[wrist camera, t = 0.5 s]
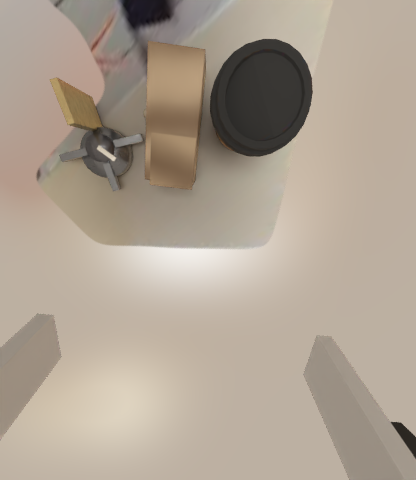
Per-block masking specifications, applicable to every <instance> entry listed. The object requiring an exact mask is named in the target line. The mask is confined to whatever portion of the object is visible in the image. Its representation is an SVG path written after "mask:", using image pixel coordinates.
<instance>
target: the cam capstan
mask: <svg viewBox="0 0 416 480" xmlns="http://www.w3.org/2000/svg"><path fill="white" fill-rule="evenodd" d="M50 82H51V84H52V87H53V89H54V92H55V94H56V97H57V99H58V102H59V104H60V107H61V109H62V112H63V114H64V116H65V119H66V121H67V124H68V125H70V126H74V127H78V128H82V129H85V130H89V131H88V132H87V133H86V134H85V135H84V137H83V138H82V141H81V146H80V149H79V150H76V151H72V152H68V153H64V154H60V155H59V156H60V158H61V161H62V162H67V161H71V160H75V159H78V158H82V159H83V161H84V163H85V164H86V166H87V167H88V168H89V169H90V170H91V171H92V172H93V173H95V174H97V175H99V176H102V177H108V179H109V182H110V185H111V187H112V190H113V191H116V190H120V189H121V187H120V184H119V181H118V179H117V176H120V175H122V174H124V173H125V172H126V171H127V170H128V169H129V168H130V166H131V163H132V157H133V156H132V149H131V146H130V145H132V144H136V143H140V142H143V141H144V139H143V136H142V134H136V135H132V136H129V137H124V136H123V135H122V134H120V133H119V132H117V131H114V130H111V129H108V128H105V127H102V124H101V121H100V118H99V116H98V113H97V110H96V107H95V104H94V101H93V99H92V97H91V96H89V95H87V94H85V93H84V92H82V91H80V90H78V89H76V88H75V87H73V86H71V85H69V84H68V83H66V82H64V81H62V80H60V79H59V78H54V79H50Z"/></svg>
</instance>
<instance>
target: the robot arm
mask: <svg viewBox="0 0 416 480" xmlns="http://www.w3.org/2000/svg"><path fill="white" fill-rule="evenodd" d="M60 358H61V353H60V347H59V342H58V336H57V331H56V326H55V321H54V316H53V315H46V314H37V315H36V316H35V317H34V318H32V319H31V320H30V321H29V322H28V323H27V324H26V325H25V326H24V327H23V328H22V329H20V330H19V331H18V332H17V333H16V334H15V335H14V336H13V337H12V338H11V339H9V340H8V341H7V342H6V343H5V344H4V345H3V346H2V347H1V348H0V440H1V438H2V437H3V435H4V434H5V433H6V432H7V430H8V429H9V427H10V426H11V425H12V423H13V422H14V421H15V419H16V418H17V417H18V415H19V414H20V413H21V411H22V410H23V408H24V407H25V406H26V404H27V403H28V402H29V400H30V399H31V397H32V396H33V395H34V394H35V392H36V391H37V390H38V388H39V387H40V385H41V384H42V383H43V381H44V380H45V379H46V377H47V376H48V375H49V373H50V372H51V371H52V369H53V368H54V366H55V365H56V364H57V362H58V361H59V360H60ZM304 377H305V379H306V381H307V384H308V386H309V388H310V391H311V393H312V395H313V398H314V400H315V402H316V404H317V407H318V409H319V411H320V414H321V416H322V418H323V420H324V423H325V425H326V427H327V429H328V432H329V434H330V436H331V439H332V441H333V443H334V446H335V448H336V450H337V452H338V455H339V457H340V459H341V462H342V464H343V466H344V468H345V471H346V473H347V475H348V478H349V480H416V437H415V436H414V435H413V434H412V433H411V432H410V431H409V430H408V429H407V428H406V427H405V426H404V425H403V424H402V423H398V422H390V421H389V419H388V418H387V416H386V415H385V414H384V412H383V411H382V409H381V408H380V406H379V405H378V403H377V402H376V400H375V399H374V398H373V396H372V395H371V393H370V392H369V390H368V389H367V387H366V386H365V384H364V383H363V382H362V380H361V379H360V377H359V376H358V374H357V373H356V371H355V370H354V369H353V367H352V366H351V364H350V363H349V361H348V360H347V358H346V357H345V355H344V354H343V352H342V351H341V350H340V348H339V347H338V345H337V344H336V342H335V341H334V339H333V338H332V337H330V336H316V339H315V342H314V345H313V348H312V351H311V354H310V357H309V360H308V363H307V365H306V368H305V371H304Z"/></svg>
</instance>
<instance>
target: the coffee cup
mask: <svg viewBox="0 0 416 480" xmlns="http://www.w3.org/2000/svg"><path fill="white" fill-rule="evenodd" d="M312 92H313V91H312V77H311V74H310V71H309V68H308V65H307V63H306V62H305V60H304V59H303V57H302V55H301V54H300V53H299V52H298V51H297V50H296V49H295V48H293V47H292V46H291V45H290V44H288V43H285V42H282V41H280V40H277V39H262V40H258V41H255V42H252V43H248V44H246V45H244V46H243V47H241V48H239V49H238V50H236V51H235V52H234V53H233V54H232V55H231V56H230V57H229V58H228V59H227V60H226V62H225V63H224V64H223V66H222V68H221V70H220V71H219V73H218V75H217V77H216V80H215V82H214V85H213V89H212V93H211V100H210V112H211V117H212V122H213V125H214V127H215V130H216V133H217V136H218V138H219V140H220V142H221V143H222V144H223V145H224V146H225V147H227V148H228V149H230V150H232V151H235V152H237V153H240V154H243V155H246V156H263V155H267V154H271V153H273V152H275V151H277V150H278V149H280V148H282V147H283V146H285V145H287V144H288V143H289V142H290V141H291V140H292V139H293V138H294V137H295V136H296V135H297V133H298V132H299V130H300V129H301V128H302V126H303V125H304V122H305V120H306V117H307V115H308V112H309V108H310V105H311V99H312Z"/></svg>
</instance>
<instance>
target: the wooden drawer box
mask: <svg viewBox="0 0 416 480" xmlns="http://www.w3.org/2000/svg"><path fill="white" fill-rule="evenodd" d="M205 74H206V61H205V49H199V48H192V47H186V46H179V45H172V44H166V43H159V42H152V41H148V62H147V106H146V109H145V110H144V112H143V115H144V117H145V118H146V150H145V179H148V180H150V185H157V186H165V187H173V188H181V189H190V190H192V185H193V183H194V182H195V177H196V166H197V156H198V146H199V135H200V125H201V115H202V105H203V94H204V84H205Z"/></svg>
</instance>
